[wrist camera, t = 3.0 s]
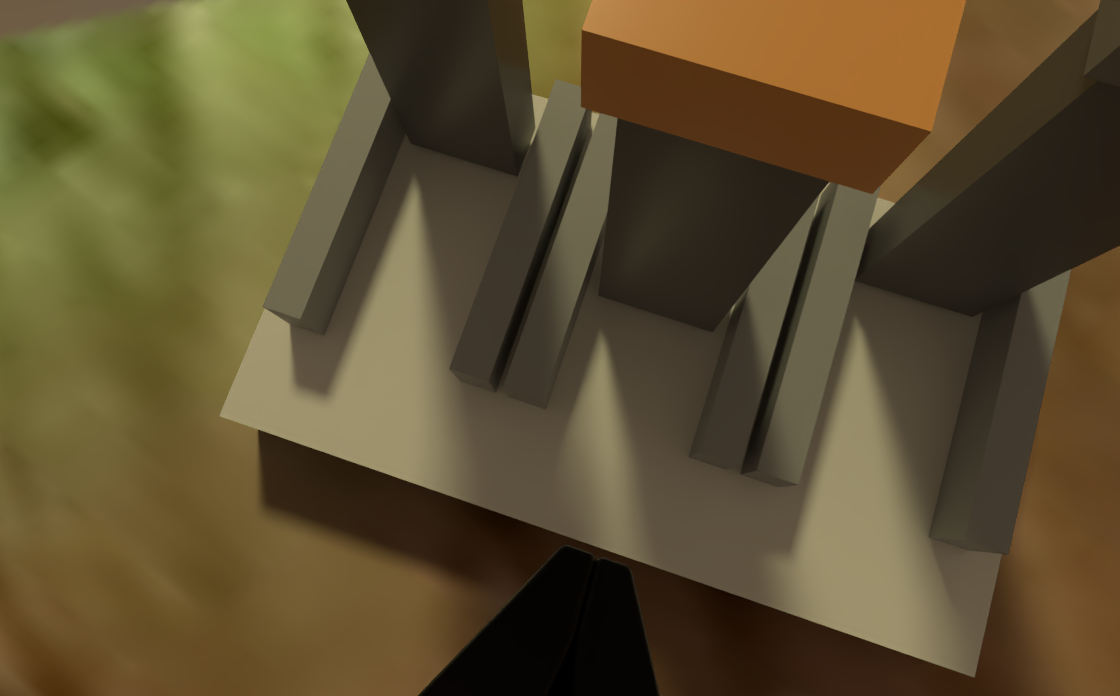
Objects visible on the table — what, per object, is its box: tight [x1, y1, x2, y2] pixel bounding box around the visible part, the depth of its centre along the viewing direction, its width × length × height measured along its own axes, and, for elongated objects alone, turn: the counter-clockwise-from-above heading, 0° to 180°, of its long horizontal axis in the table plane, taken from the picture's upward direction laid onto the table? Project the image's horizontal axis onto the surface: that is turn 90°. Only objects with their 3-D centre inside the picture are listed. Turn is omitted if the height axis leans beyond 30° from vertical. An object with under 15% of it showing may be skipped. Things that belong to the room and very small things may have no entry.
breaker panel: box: [220, 53, 1071, 678], centre depth 17 cm, size 9×16×4 cm, turn 71°
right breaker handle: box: [855, 0, 1120, 317], centre depth 12 cm, size 2×3×10 cm, turn 72°
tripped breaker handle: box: [581, 0, 966, 332], centre depth 12 cm, size 2×3×10 cm, turn 72°
